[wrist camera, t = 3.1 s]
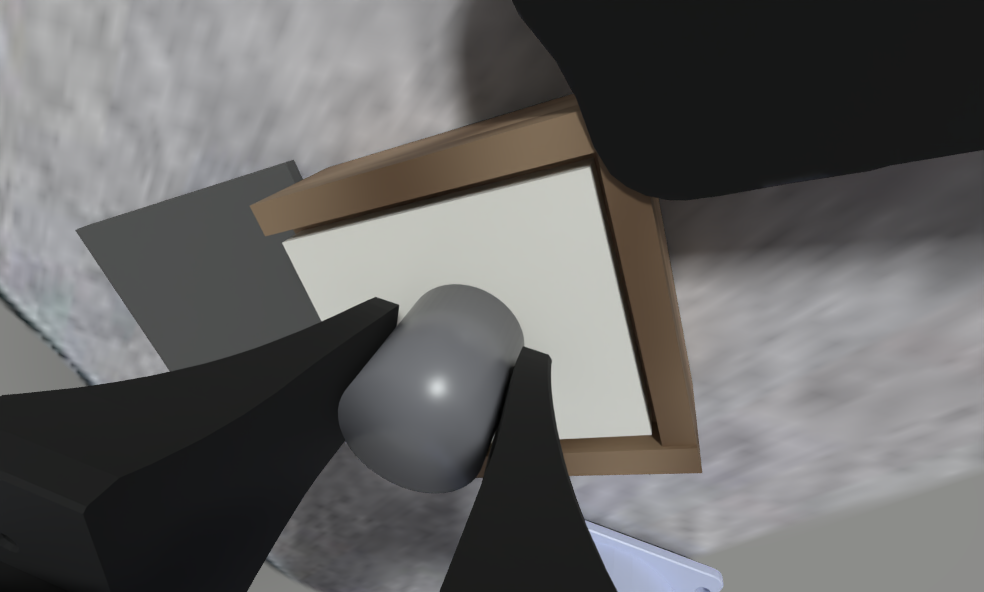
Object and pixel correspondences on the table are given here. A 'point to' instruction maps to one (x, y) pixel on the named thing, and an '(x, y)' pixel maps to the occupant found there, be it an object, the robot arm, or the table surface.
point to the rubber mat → (205, 270)
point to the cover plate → (516, 261)
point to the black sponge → (766, 86)
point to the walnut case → (635, 234)
